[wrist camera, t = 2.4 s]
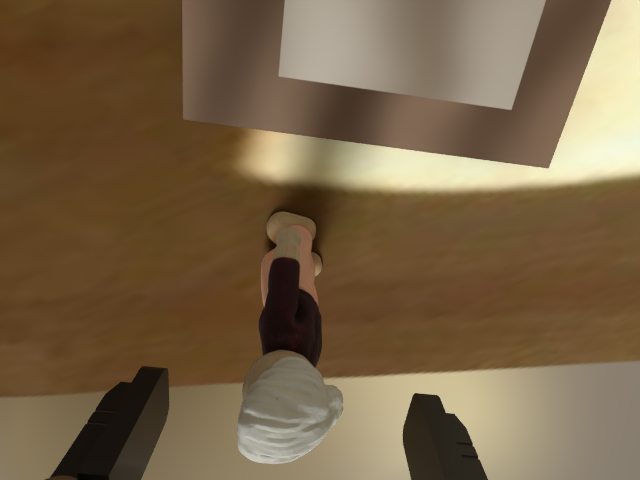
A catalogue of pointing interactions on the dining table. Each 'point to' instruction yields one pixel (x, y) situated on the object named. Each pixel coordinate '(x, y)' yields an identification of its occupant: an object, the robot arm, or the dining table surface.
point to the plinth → (377, 117)
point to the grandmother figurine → (287, 353)
